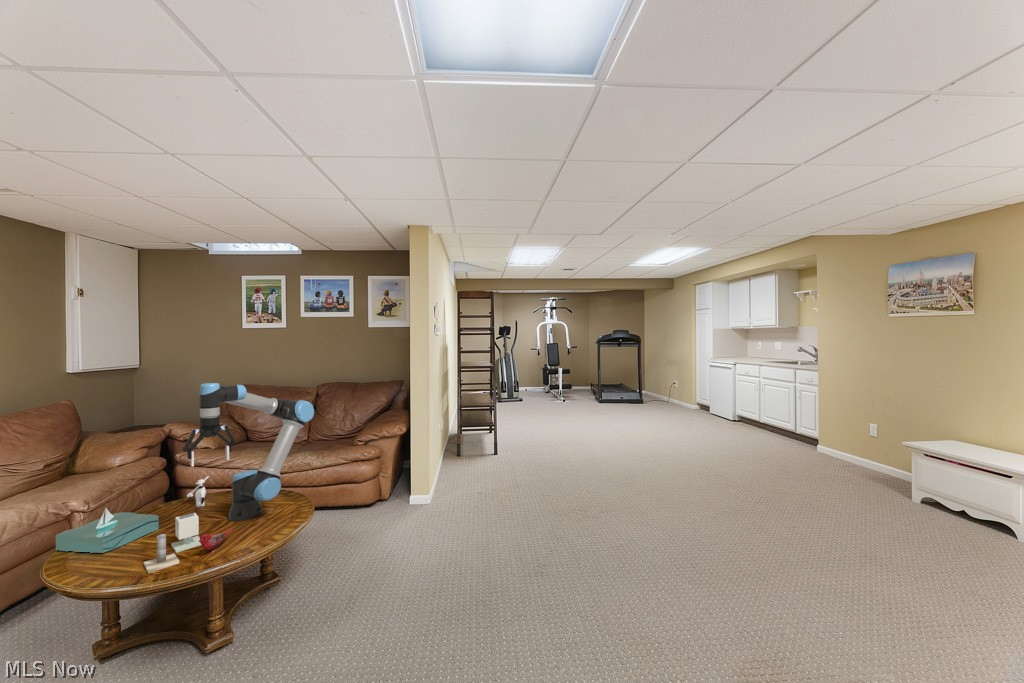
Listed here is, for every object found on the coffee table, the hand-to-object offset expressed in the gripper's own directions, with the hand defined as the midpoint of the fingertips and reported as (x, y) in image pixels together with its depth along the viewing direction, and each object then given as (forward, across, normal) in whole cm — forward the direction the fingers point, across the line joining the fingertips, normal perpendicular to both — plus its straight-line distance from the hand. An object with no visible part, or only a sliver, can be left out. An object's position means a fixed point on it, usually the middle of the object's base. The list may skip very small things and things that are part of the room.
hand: (210, 462), depth 196 cm
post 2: (+37, +8, -4) cm, 38 cm away
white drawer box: (+32, +8, -4) cm, 33 cm away
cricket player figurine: (+37, -7, -56) cm, 68 cm away
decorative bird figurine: (+37, 0, +12) cm, 39 cm away
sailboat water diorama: (+38, +31, -40) cm, 63 cm away
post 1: (+37, +19, +8) cm, 42 cm away
